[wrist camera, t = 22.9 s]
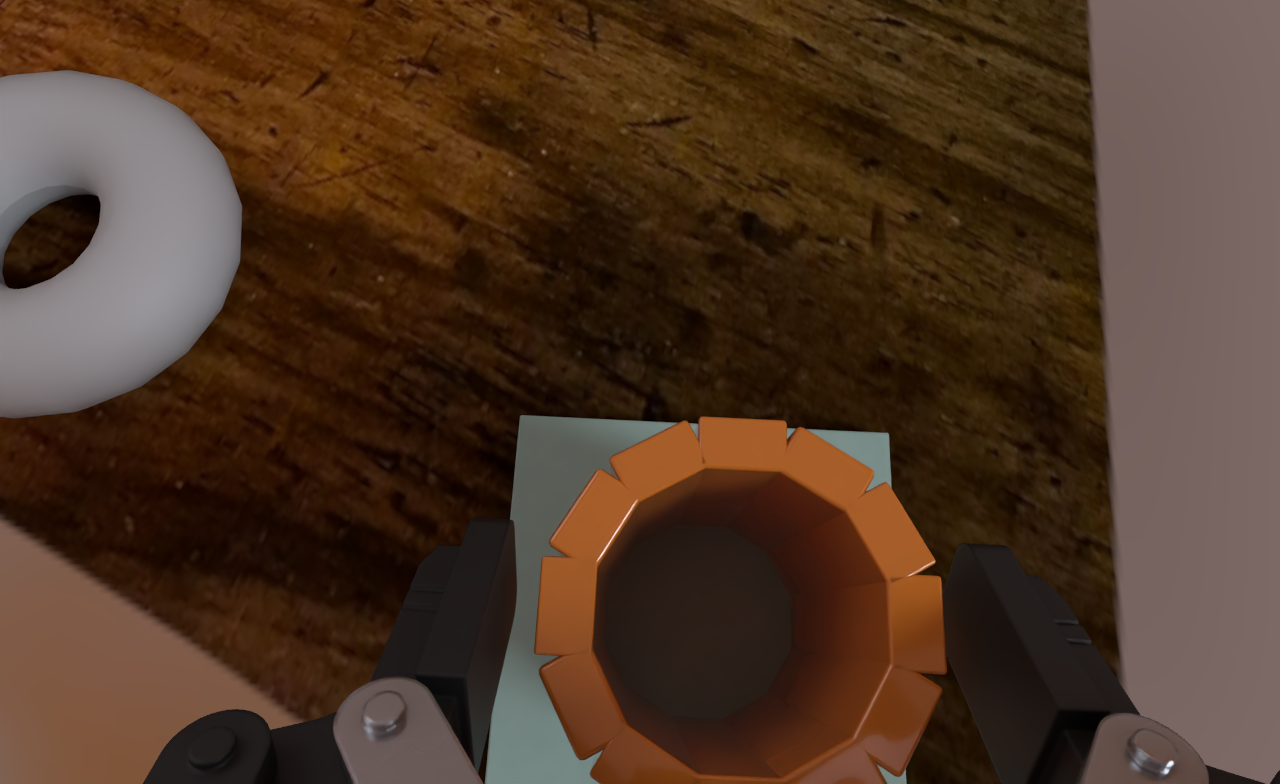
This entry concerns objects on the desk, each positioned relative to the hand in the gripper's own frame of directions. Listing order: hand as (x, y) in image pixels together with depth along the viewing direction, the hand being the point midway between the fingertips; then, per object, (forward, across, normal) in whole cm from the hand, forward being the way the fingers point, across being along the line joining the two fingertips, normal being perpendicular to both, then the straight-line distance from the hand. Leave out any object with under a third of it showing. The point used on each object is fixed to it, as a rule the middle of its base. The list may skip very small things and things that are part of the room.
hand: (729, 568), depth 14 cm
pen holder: (+4, 0, +5) cm, 6 cm away
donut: (+10, +18, -1) cm, 21 cm away
